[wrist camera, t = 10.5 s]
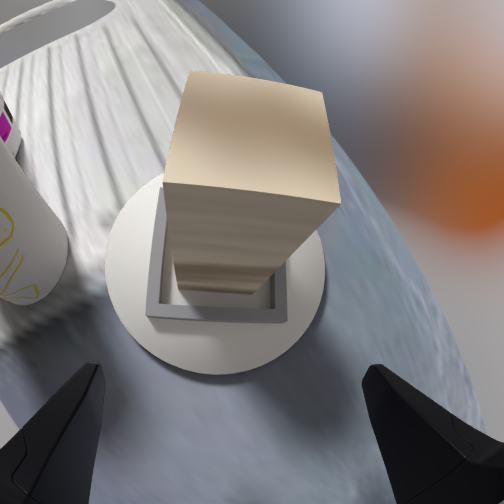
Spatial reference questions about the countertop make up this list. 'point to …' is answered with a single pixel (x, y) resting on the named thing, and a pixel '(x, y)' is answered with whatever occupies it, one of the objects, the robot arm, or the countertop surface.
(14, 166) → the cup
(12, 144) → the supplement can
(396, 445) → the robot arm
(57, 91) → the countertop surface
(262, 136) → the birch block
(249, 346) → the locating plate
